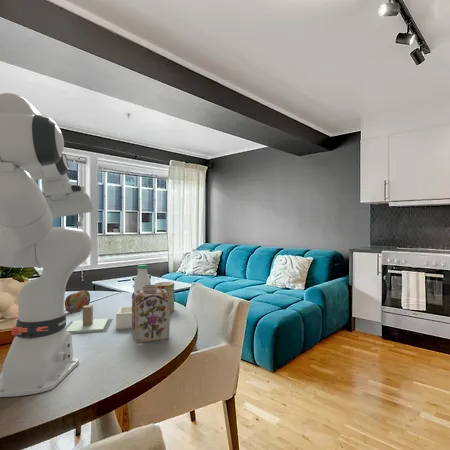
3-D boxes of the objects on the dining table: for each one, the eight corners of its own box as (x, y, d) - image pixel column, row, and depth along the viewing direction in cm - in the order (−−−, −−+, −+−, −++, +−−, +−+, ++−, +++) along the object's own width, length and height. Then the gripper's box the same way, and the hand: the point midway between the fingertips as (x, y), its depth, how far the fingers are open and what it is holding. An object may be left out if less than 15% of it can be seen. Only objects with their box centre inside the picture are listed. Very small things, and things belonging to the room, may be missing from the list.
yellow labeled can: (150, 312, 143) (150, 285, 143) (159, 306, 152) (159, 281, 152) (169, 313, 141) (169, 286, 141) (177, 308, 150) (177, 282, 150)
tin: (69, 315, 139) (69, 295, 139) (63, 314, 140) (63, 295, 140) (90, 306, 154) (90, 288, 154) (85, 305, 154) (84, 288, 154)
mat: (106, 333, 116) (106, 332, 116) (58, 336, 113) (58, 335, 113) (112, 320, 132) (112, 319, 132) (71, 322, 128) (71, 321, 128)
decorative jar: (134, 344, 105) (134, 289, 105) (131, 332, 116) (131, 283, 116) (170, 339, 110) (170, 287, 110) (164, 328, 121) (163, 281, 121)
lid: (102, 331, 117) (102, 309, 117) (64, 333, 115) (64, 311, 114) (108, 320, 130) (108, 301, 130) (74, 322, 127) (74, 302, 127)
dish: (143, 328, 121) (143, 312, 121) (116, 329, 119) (116, 313, 119) (145, 320, 131) (144, 305, 131) (119, 321, 129) (119, 307, 129)
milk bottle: (147, 309, 147) (146, 266, 147) (131, 309, 148) (131, 266, 148) (153, 305, 155) (153, 264, 154) (138, 304, 156) (138, 263, 156)
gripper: (22, 193, 105) (31, 234, 106) (88, 185, 114) (96, 223, 115) (24, 196, 111) (33, 235, 112) (87, 188, 120) (94, 224, 121)
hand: (65, 229), depth 113 cm, fingers open, 8 cm apart
